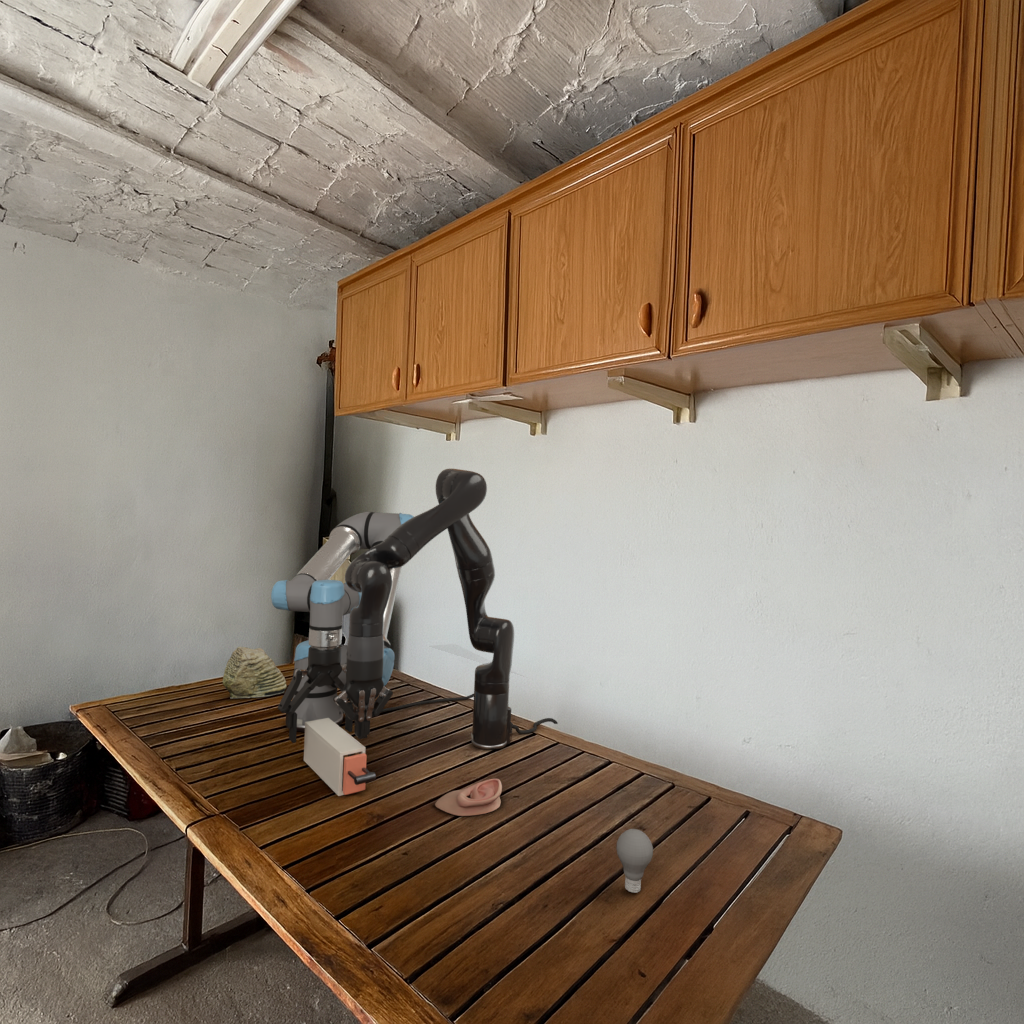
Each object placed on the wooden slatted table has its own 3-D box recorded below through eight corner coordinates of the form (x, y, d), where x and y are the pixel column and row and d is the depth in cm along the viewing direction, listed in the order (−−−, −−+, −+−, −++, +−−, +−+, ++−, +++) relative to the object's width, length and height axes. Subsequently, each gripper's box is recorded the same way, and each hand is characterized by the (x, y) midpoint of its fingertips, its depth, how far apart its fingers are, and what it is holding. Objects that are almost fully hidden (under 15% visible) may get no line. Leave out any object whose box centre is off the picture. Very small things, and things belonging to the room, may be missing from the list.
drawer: (376, 799, 132) (377, 763, 132) (355, 805, 129) (356, 768, 129) (329, 756, 152) (330, 725, 152) (310, 760, 149) (311, 728, 149)
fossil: (218, 695, 195) (220, 647, 195) (278, 685, 208) (279, 640, 207) (228, 703, 189) (230, 653, 188) (289, 692, 201) (290, 645, 201)
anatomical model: (430, 792, 129) (447, 769, 140) (429, 811, 129) (446, 787, 140) (494, 801, 126) (506, 777, 137) (493, 821, 126) (505, 795, 138)
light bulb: (610, 879, 108) (613, 822, 108) (644, 879, 109) (647, 822, 109) (619, 902, 102) (622, 840, 102) (655, 901, 103) (658, 840, 103)
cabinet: (364, 789, 138) (365, 747, 138) (338, 796, 134) (340, 752, 134) (327, 755, 155) (328, 717, 155) (303, 760, 151) (305, 721, 151)
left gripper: (276, 655, 139) (272, 751, 139) (380, 644, 154) (376, 730, 155) (266, 648, 145) (262, 740, 145) (367, 638, 160) (363, 721, 161)
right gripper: (342, 663, 125) (338, 750, 126) (402, 655, 133) (398, 737, 134) (327, 655, 131) (324, 738, 131) (386, 648, 139) (382, 726, 140)
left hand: (321, 735), depth 150 cm, fingers open, 13 cm apart
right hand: (362, 737), depth 133 cm, fingers closed
